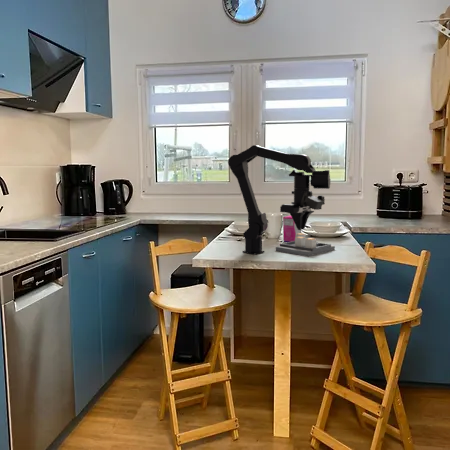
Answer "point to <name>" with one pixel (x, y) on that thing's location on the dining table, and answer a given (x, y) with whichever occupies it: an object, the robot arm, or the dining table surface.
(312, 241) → the switch tab
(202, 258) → the dining table surface
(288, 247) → the switch bank
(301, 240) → the switch tab
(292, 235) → the supplement box
